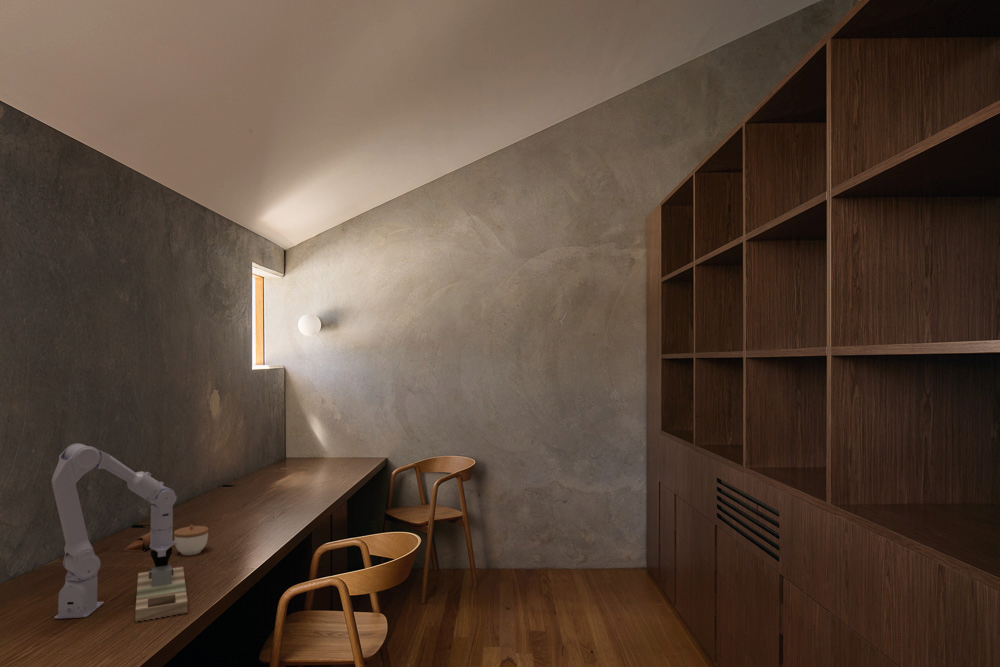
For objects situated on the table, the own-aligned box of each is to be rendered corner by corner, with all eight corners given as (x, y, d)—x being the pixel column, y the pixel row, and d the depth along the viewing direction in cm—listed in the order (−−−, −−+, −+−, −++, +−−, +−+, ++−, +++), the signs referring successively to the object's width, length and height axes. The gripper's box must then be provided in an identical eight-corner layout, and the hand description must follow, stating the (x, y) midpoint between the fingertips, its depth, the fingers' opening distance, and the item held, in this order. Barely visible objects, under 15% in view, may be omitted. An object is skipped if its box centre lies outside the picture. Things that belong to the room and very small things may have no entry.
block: (171, 584, 184) (171, 569, 184) (151, 587, 182) (151, 572, 182) (171, 578, 189) (171, 564, 189) (151, 581, 186) (151, 567, 186)
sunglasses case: (145, 537, 241) (155, 521, 241) (162, 546, 241) (172, 530, 242) (120, 552, 223) (130, 535, 223) (138, 562, 223) (148, 545, 224)
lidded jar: (213, 547, 228) (213, 520, 228) (200, 557, 217) (200, 529, 218) (182, 548, 228) (182, 521, 228) (167, 557, 217) (168, 529, 217)
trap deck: (187, 613, 171) (187, 602, 171) (135, 622, 165) (135, 610, 165) (182, 576, 199) (182, 566, 199) (138, 582, 194) (138, 572, 194)
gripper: (177, 532, 185) (177, 580, 184) (176, 520, 197) (175, 565, 197) (149, 535, 181) (149, 584, 181) (149, 523, 194) (149, 569, 194)
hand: (161, 575), depth 189 cm, fingers closed
